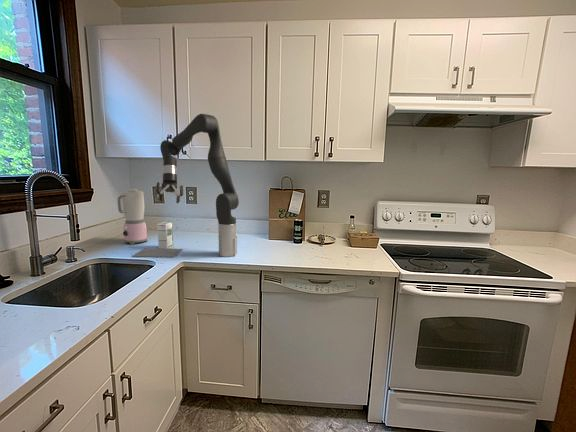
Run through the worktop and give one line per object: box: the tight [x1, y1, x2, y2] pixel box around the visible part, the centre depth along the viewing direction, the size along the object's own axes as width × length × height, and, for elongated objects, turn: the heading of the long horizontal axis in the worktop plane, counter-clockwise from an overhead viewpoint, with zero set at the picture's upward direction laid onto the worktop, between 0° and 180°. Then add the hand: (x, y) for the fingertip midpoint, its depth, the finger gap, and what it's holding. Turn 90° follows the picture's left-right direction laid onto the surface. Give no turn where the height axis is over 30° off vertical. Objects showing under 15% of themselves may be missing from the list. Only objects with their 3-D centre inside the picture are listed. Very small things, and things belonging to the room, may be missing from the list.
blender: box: [117, 188, 148, 246], centre depth 171 cm, size 16×12×32 cm
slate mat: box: [131, 247, 183, 259], centre depth 154 cm, size 21×14×1 cm, turn 91°
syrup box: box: [156, 221, 174, 249], centre depth 163 cm, size 6×6×14 cm
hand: (169, 202), depth 158 cm, fingers open, 8 cm apart
